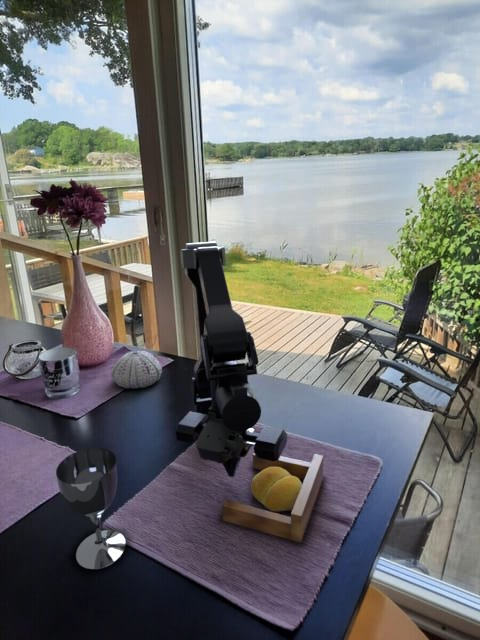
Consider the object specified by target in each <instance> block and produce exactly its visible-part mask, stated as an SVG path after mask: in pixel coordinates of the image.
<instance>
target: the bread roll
mask: <svg viewBox="0 0 480 640" xmlns="http://www.w3.org/2000/svg"><path fill="white" fill-rule="evenodd" d="M302 484H303V482H302V481H301V479H298V478H297V477H295V476H292V475H291V474H290V473H289V472H287V471H286V470H285V469H283V468H281V467H268V468H266V469H264V470H260V472H258V473H257V474H255V475H254V476H253V478H252V479H251V486H250V491H251V493H252V495H253V497H254V498H255V499H256V500H257V501H258V502H259V503H260V504H262V505H263V506H264V507H265V508H266V509H267V510H268V511H270V512H273V513H279V512H287V511H292V510H293V507H294V505H295V502H296V500H297V497H298V495H299V492H300V490H301V487H302Z"/></svg>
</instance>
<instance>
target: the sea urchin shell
mask: <svg viewBox="0 0 480 640" xmlns="http://www.w3.org/2000/svg"><path fill="white" fill-rule="evenodd" d="M162 367H163V366H162V364H161V363H160V361H159V360H158V359H157V357H155V355H153V354H152V353H150V352H148V351H147V350H146V351H145V350H137V351H129V352H127V353H125V354H124V355H122V356H121V357H120V358H119V359H118V360H116V363H114V366H112V370H111V373H110V376H111V378H112V381H114V383H115V384H116V385H118V386H119V387H122V388H124V389H128V390H129V389H132V390H133V389H141V388H142V389H144V388H146V387H150V386H152V385H153V384H155V383H156V382H158V381H159V380H160V379H161V377H162V373H163V368H162Z"/></svg>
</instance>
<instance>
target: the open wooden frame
mask: <svg viewBox="0 0 480 640" xmlns="http://www.w3.org/2000/svg"><path fill="white" fill-rule="evenodd" d="M268 467H281V468H283V469H285V470H286V471H287V472H289V473H290V474H291V475H292V476H295V477H297V478H298V479H299V480H303V482H302V487H301V490H300V492H299V495H298V497H297V500H296V502H295V505H294V507H293V510H291V513H290V516H289V515H284V514H280V513H278V512H273V511H270V510H265V509H261V508H258V507H254V506H251V505H246V504H243V503H240V502H235V501H231V500H228V499H225V500H224V502H223V504H222V505H221V509H222V510H221V512H222V521H224V522H227V523H230V524H234V525H237V526H240V527H245V528H248V529H251V530H255V531H257V532H258V531H259V532H262V533H265V534H269V535H271V536H276V537H279V538H283V539H287V540H289V541H293V542H297V543H302V541H303V538H304V535H305V533H306V529H307V527H308V524H309V521H310V517H311V515H312V512H313V509H314V506H315V503H316V500H317V497H318V494H319V491H320V488H321V486H322V482H323V480H324V455H322V454H318V453H314V454H313V457H312V459H311V462H310V461H305V460H301V459H297V458H291V457H286V456H282V455H281V456H280V458H279V460H277V461H269V460H264V459H260V458H258V457H257V456H256V455H255V454H254V453H253V454H252V468H253V469H256V470H260V471H262V470H264V469H266V468H268Z"/></svg>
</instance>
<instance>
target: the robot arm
mask: <svg viewBox="0 0 480 640" xmlns="http://www.w3.org/2000/svg"><path fill="white" fill-rule="evenodd" d="M179 251H180V252H179V254H180V255H179V256H180V265H181V268H182V269H184V274H185V275H184V276H186V278H187V280H189V282H190V283H191V284H192V286H193V292H194V303H195V316H196V325H197V326H196V327H197V339H198V349H199V350H198V351H199V357H198V359H197V360H196V362H195V364H194V366H193V377H191V381H190V391H191V398H192V402H193V405H194V406H196V412H195V411H189V412H187V413H186V414H185V415H184V417H182V418H181V419H180V420H179V422H178V423H177V424H176V425H175V429H174V436H175V440H176V441H178V442H183V443H187V444H191V443H192V442H193V441H195V439H196V433H197V434H199V436H198V438H197V440H196V442H195V446H196V449H197V452H198V454H199V458H200V459H201V460H203V461H210V462H215V463H217V464H221V465H222V466H223V469H224V470H225V471H226V474H227V475H228V477H231V478H234V477H235V475H236V472H237V471H238V468H239V464H240V462H241V459H242V458H245V457H246V456H248V453H249V452H250V451H251V449H252V447H253V454H255V455H256V456H257V457H258V458H260V459H264V460H269V461H277V460H279V458H280V456H282V453H283V452H284V450H285V447H286V446H287V444H288V434H287V432H286V431H285V429H284V428H280V427H274V426H268V425H263V427H262V428H261V430H260V432H255V429H254V427H255V425H257V424H258V422H259V421H260V418H261V415H262V407H261V405H260V403H259V401H258V399H257V397H256V395H255V393H254V391H253V389H252V387H251V385H250V384H249V376H254V375H258V369H257V366H258V364H259V357H258V352H257V348H256V344H255V343H256V342H255V340H254V336H252V333H251V331H250V330H248V329H247V328H246V324H245V321H244V318H243V316H242V315H240V314H239V313H238V312H237V311H235V310H234V309H233V306H232V305H233V304H232V300H231V296H230V292H229V288H228V283H227V278H226V275H225V271H224V266H227V257H226V246H218V243H217V242H216V241H205V242H204V241H203V242H190V243H189V242H188V243H185V248H184V249H180V250H179ZM246 358H247V361H248V362H241V363H239V362H238V361H244V360H246Z"/></svg>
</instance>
